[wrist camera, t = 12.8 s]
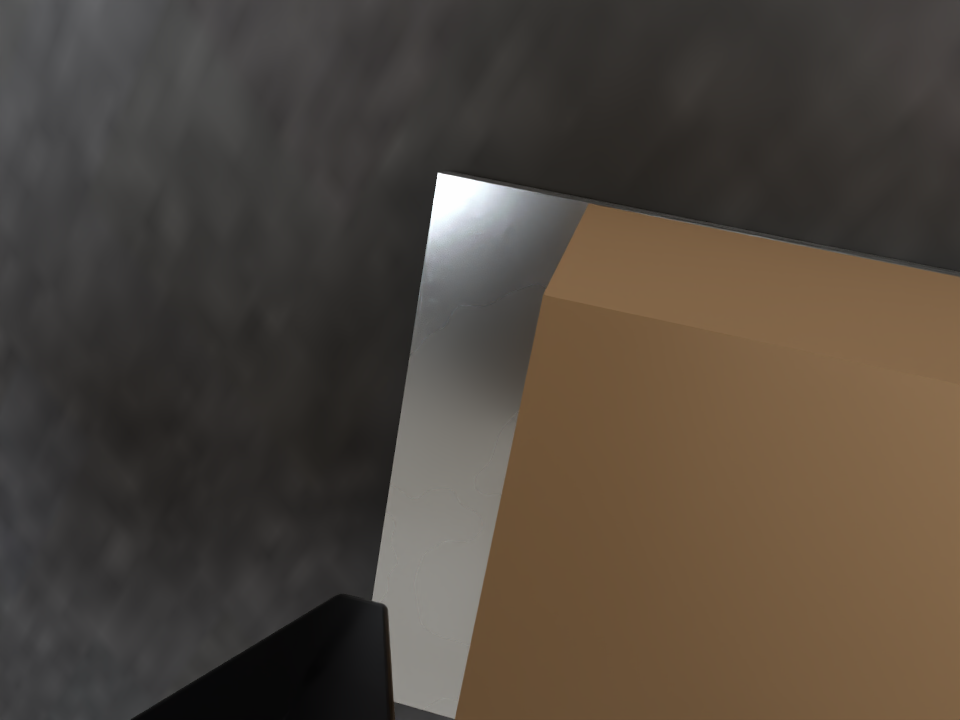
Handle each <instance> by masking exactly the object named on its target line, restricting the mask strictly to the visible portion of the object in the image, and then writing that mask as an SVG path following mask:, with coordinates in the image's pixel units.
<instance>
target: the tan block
mask: <svg viewBox="0 0 960 720" xmlns="http://www.w3.org/2000/svg"><path fill="white" fill-rule="evenodd" d="M455 720H960V277H957V276H952V275H947V274H942V273H937V272H931V271H926V270H921V269H916V268H911V267H906V266H901V265H896V264H891V263H886V262H881V261H876V260H871V259H866V258H861V257H856V256H851V255H846V254H841V253H836V252H831V251H826V250H821V249H816V248H810V247H805V246H800V245H795V244H790V243H785V242H780V241H775V240H770V239H765V238H760V237H755V236H750V235H745V234H740V233H735V232H730V231H725V230H720V229H715V228H710V227H705V226H700V225H695V224H689V223H684V222H679V221H674V220H669V219H664V218H659V217H654V216H649V215H644V214H639V213H634V212H629V211H624V210H619V209H614V208H609V207H604V206H599V205H594V204H588V206H587V208H586V210H585V212H584V214H583V216H582V218H581V220H580V222H579V224H578V226H577V228H576V230H575V232H574V234H573V236H572V238H571V240H570V242H569V244H568V246H567V248H566V250H565V252H564V254H563V256H562V258H561V260H560V262H559V264H558V266H557V268H556V270H555V272H554V274H553V276H552V278H551V280H550V282H549V284H548V286H547V288H546V290H545V292H544V294H543V298H542V303H541V307H540V312H539V317H538V322H537V327H536V331H535V336H534V341H533V346H532V351H531V355H530V360H529V365H528V370H527V375H526V379H525V384H524V389H523V394H522V399H521V403H520V408H519V413H518V418H517V423H516V427H515V432H514V437H513V442H512V447H511V451H510V456H509V461H508V466H507V471H506V475H505V480H504V485H503V490H502V495H501V499H500V504H499V509H498V514H497V519H496V523H495V528H494V533H493V538H492V543H491V547H490V552H489V557H488V562H487V567H486V571H485V576H484V581H483V586H482V591H481V595H480V600H479V605H478V610H477V615H476V619H475V624H474V629H473V634H472V639H471V643H470V648H469V653H468V658H467V663H466V667H465V672H464V677H463V682H462V687H461V691H460V696H459V701H458V706H457V711H456V715H455Z"/></svg>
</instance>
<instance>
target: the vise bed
mask: <svg viewBox="0 0 960 720" xmlns="http://www.w3.org/2000/svg"><path fill="white" fill-rule="evenodd" d="M588 204H594V205H599V206H604V207H609V208H614V209H619V210H624V211H629V212H634V213H639V214H644V215H649V216H654V217H659V218H664V219H669V220H674V221H679V222H684V223H689V224H695V225H700V226H705V227H710V228H715V229H720V230H725V231H730V232H735V233H740V234H745V235H750V236H755V237H760V238H765V239H770V240H775V241H780V242H785V243H790V244H795V245H800V246H805V247H810V248H816V249H821V250H826V251H831V252H836V253H841V254H846V255H851V256H856V257H861V258H866V259H871V260H876V261H881V262H886V263H891V264H896V265H901V266H906V267H911V268H916V269H921V270H926V271H931V272H937V273H942V274H947V275H952V276H957V277H960V272H957V271H952V270H947V269H942V268H937V267H932V266H927V265H922V264H916V263H911V262H906V261H901V260H896V259H891V258H886V257H881V256H876V255H871V254H866V253H861V252H856V251H851V250H846V249H841V248H836V247H830V246H825V245H820V244H815V243H810V242H805V241H800V240H795V239H790V238H785V237H780V236H775V235H770V234H765V233H760V232H755V231H749V230H744V229H739V228H734V227H729V226H724V225H719V224H714V223H709V222H704V221H699V220H694V219H689V218H684V217H679V216H674V215H668V214H663V213H658V212H653V211H648V210H643V209H638V208H633V207H628V206H623V205H618V204H613V203H608V202H603V201H598V200H593V199H588V198H582V197H577V196H572V195H567V194H562V193H557V192H552V191H547V190H542V189H537V188H532V187H527V186H522V185H517V184H512V183H507V182H501V181H496V180H491V179H486V178H481V177H476V176H471V175H466V174H461V173H456V172H451V171H445V172H440V173H438V176H437V182H436V189H435V195H434V202H433V208H432V215H431V221H430V228H429V234H428V241H427V247H426V254H425V260H424V267H423V273H422V280H421V286H420V293H419V299H418V306H417V312H416V318H415V325H414V331H413V338H412V344H411V351H410V357H409V364H408V370H407V377H406V383H405V390H404V396H403V403H402V409H401V416H400V422H399V429H398V435H397V442H396V448H395V455H394V461H393V468H392V474H391V481H390V487H389V494H388V500H387V507H386V513H385V520H384V526H383V533H382V539H381V546H380V552H379V559H378V565H377V572H376V578H375V585H374V591H373V598H372V601H375V602H379V603H383V604H385V605H386V606H387V608H388V616H389V632H390V648H391V664H392V680H393V696H394V702H397V703H401V704H404V705H408V706H411V707H415V708H418V709H422V710H425V711H429V712H432V713H436V714H439V715H443V716H446V717H449V718H453V719H455V715H456V711H457V706H458V701H459V696H460V691H461V687H462V682H463V677H464V672H465V667H466V663H467V658H468V653H469V648H470V643H471V639H472V634H473V629H474V624H475V619H476V615H477V610H478V605H479V600H480V595H481V591H482V586H483V581H484V576H485V571H486V567H487V562H488V557H489V552H490V547H491V543H492V538H493V533H494V528H495V523H496V519H497V514H498V509H499V504H500V499H501V495H502V490H503V485H504V480H505V475H506V471H507V466H508V461H509V456H510V451H511V447H512V442H513V437H514V432H515V427H516V423H517V418H518V413H519V408H520V403H521V399H522V394H523V389H524V384H525V379H526V375H527V370H528V365H529V360H530V355H531V351H532V346H533V341H534V336H535V331H536V327H537V322H538V317H539V312H540V307H541V303H542V298H543V294H544V292H545V290H546V288H547V286H548V284H549V282H550V280H551V278H552V276H553V274H554V272H555V270H556V268H557V266H558V264H559V262H560V260H561V258H562V256H563V254H564V252H565V250H566V248H567V246H568V244H569V242H570V240H571V238H572V236H573V234H574V232H575V230H576V228H577V226H578V224H579V222H580V220H581V218H582V216H583V214H584V212H585V210H586V208H587V206H588Z"/></svg>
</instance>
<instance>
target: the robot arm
mask: <svg viewBox="0 0 960 720" xmlns="http://www.w3.org/2000/svg"><path fill="white" fill-rule="evenodd" d="M131 720H395V712H394V696H393V680H392V664H391V648H390V632H389V616H388V608H387V606H386V605H385V604H383V603H379V602H375V601H371V600H367V599H363V598H359V597H355V596H351V595H347V594H339V595H336V596H334V597H333V598H331V599H329V600H328V601H326V602H324V603H323V604H321V605H319V606H318V607H316V608H314V609H313V610H311V611H309V612H308V613H306V614H304V615H303V616H301V617H299V618H298V619H296V620H295V621H293V622H291V623H290V624H288V625H286V626H285V627H283V628H281V629H280V630H278V631H276V632H275V633H273V634H271V635H270V636H268V637H266V638H265V639H263V640H261V641H260V642H258V643H256V644H255V645H253V646H251V647H250V648H248V649H247V650H245V651H243V652H242V653H240V654H238V655H237V656H235V657H233V658H232V659H230V660H228V661H227V662H225V663H223V664H222V665H220V666H218V667H217V668H215V669H213V670H212V671H210V672H208V673H207V674H205V675H203V676H202V677H200V678H199V679H197V680H195V681H194V682H192V683H190V684H189V685H187V686H185V687H184V688H182V689H180V690H179V691H177V692H175V693H174V694H172V695H170V696H169V697H167V698H165V699H164V700H162V701H160V702H159V703H157V704H156V705H154V706H152V707H151V708H149V709H147V710H146V711H144V712H142V713H141V714H139V715H137V716H136V717H134V718H132V719H131Z"/></svg>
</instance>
